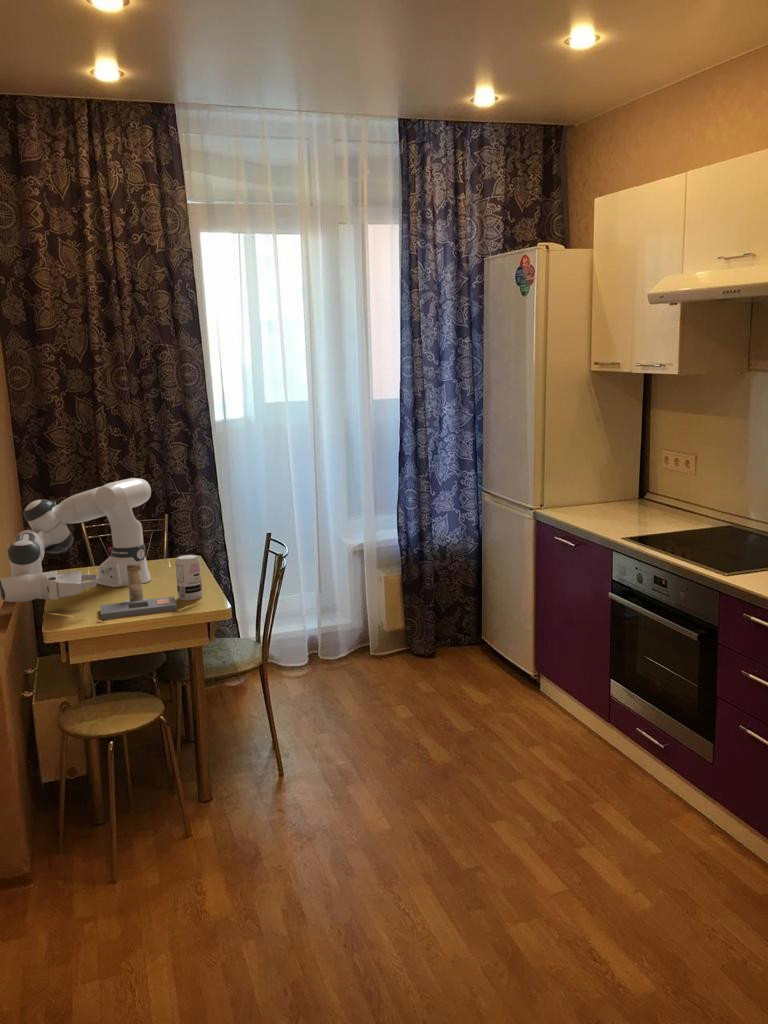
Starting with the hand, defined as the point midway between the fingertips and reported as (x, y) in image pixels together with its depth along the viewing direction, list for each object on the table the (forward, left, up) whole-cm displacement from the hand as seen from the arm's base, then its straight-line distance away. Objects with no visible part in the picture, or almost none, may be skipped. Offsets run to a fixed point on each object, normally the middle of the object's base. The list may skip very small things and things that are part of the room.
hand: (96, 579), depth 284 cm
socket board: (+16, +2, -10) cm, 19 cm away
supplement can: (+22, +21, -10) cm, 32 cm away
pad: (+8, +9, -10) cm, 16 cm away
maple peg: (+8, +9, -9) cm, 15 cm away
